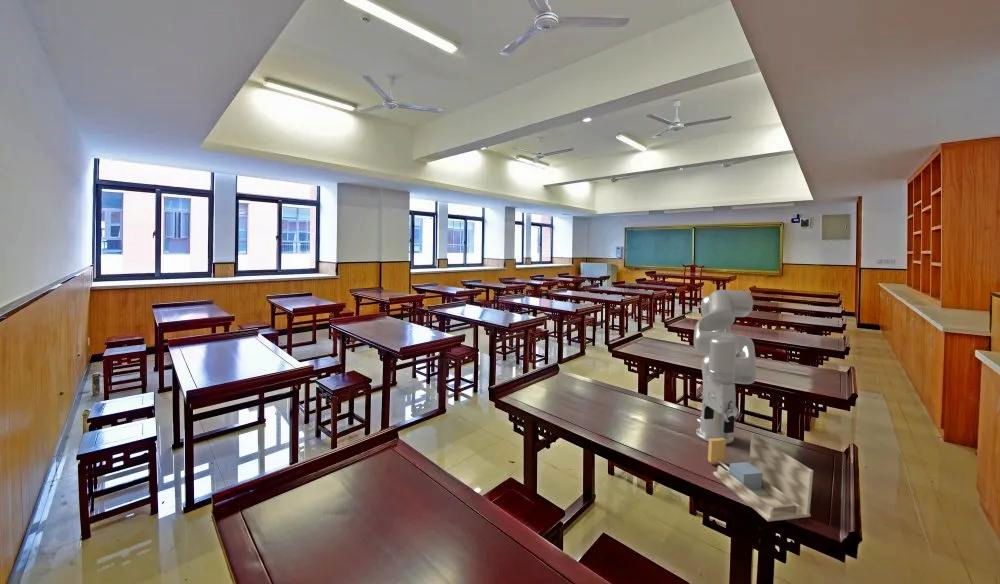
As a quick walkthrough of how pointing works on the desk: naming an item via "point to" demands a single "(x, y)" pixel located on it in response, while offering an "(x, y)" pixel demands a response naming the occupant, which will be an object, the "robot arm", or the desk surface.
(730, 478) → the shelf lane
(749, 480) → the toy blocks
